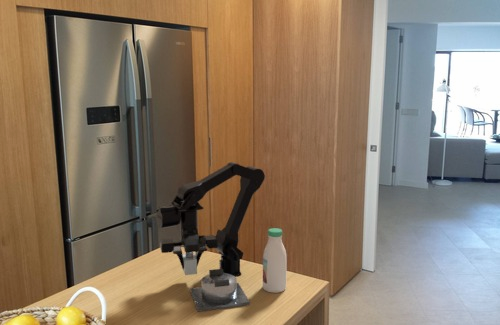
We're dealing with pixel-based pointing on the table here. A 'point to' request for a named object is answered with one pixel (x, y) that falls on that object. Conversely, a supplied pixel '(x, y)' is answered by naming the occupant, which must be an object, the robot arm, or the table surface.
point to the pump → (190, 263)
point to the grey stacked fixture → (218, 292)
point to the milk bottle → (274, 263)
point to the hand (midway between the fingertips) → (189, 268)
